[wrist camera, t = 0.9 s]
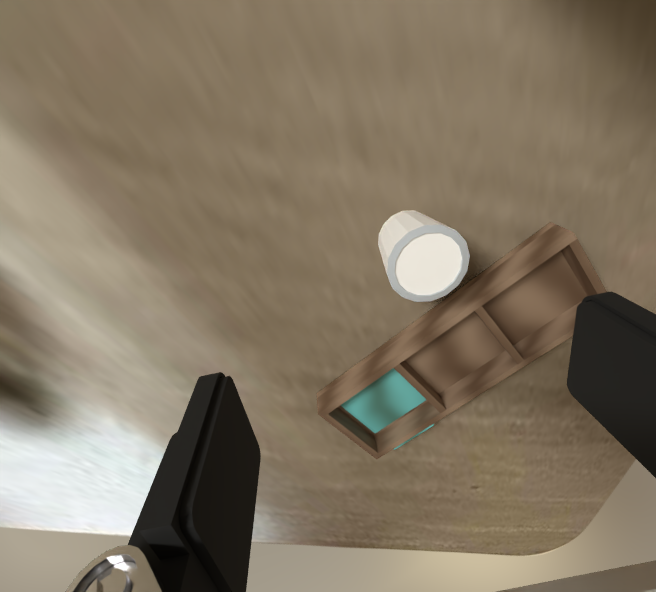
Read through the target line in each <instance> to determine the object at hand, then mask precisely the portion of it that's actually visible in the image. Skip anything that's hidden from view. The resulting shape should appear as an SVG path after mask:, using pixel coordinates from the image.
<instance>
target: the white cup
mask: <svg viewBox="0 0 656 592" xmlns="http://www.w3.org/2000/svg"><path fill="white" fill-rule="evenodd" d="M378 246H379V249H380V252H381V256H382V259H383V263H384V266H385V269H386V273H387V276H388V278H389V281H390V283H391V286H392V288H393V289H394V290H395V291H396V292H397V293H398V294H399V295H401V296H402V297H403V298H406V299H409V300H412V301H415V302H423V301H433V300H436V299H438V298H441V297H443V296H446V295H447V294H448V293H450V292H451V291H452V290H453V289H454V288H456V287H457V286H458V285H459V284H460V282H461V280H462V279H463V277H464V275H465V274H466V272H467V269H468V264H469V258H470V254H469V250H468V247H467V243H466V241H465V240H464V239H463V237H462V236H461V235H460V234H459V233H458V232H457V231H456V230H454V229H452V228H450V227H448V226H446V225H444V224H442V223H440V222H438V221H436V220H434V219H432V218H430V217H428V216H426V215H424V214H422V213H419V212H417V211H415V210H413V211H402V212H399V213H397V214H395V215H392V216H391V217H390V218H389V219H388V220H387V221H386V222H385V223H384V224H383V226H382V228H381V231H380V233H379V241H378Z"/></svg>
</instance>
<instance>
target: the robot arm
mask: <svg viewBox="0 0 656 592" xmlns="http://www.w3.org/2000/svg"><path fill="white" fill-rule="evenodd" d="M567 386H568V389H569V391H570V393H571V394H572V396H573V397H574V398H575V399H576V400H577V401H578V402H579V403H580V404H581V405H582V406H583V407H584V408H585V409H586V410H587V411H588V412H589V413H590V414H591V415H592V416H593V417H595V418H596V419H597V420H598V421H599V422H600V423H601V424H602V425H603V426H604V427H605V428H606V429H607V430H608V431H609V432H610V433H611V434H612V435H613V436H614V437H615V438H616V439H617V440H618V441H619V442H620V443H621V444H622V445H623V446H624V447H625V448H626V449H627V450H628V451H629V452H630V453H631V454H632V455H633V456H634V457H635V458H636V459H637V460H638V461H639V462H640V463H641V464H642V465H643V466H644V467H645V468H646V469H647V470H648V471H649V472H650V473H651V474H652V475H653V476H654V477H655V478H656V314H654V313H652V312H650V311H648V310H646V309H644V308H643V307H641V306H639V305H637V304H635V303H633V302H631V301H629V300H627V299H626V298H624V297H622V296H620V295H618V294H616V293H614V292H605V293H600V294H595V295H590V296H587V297H585V298H584V299H583V300H582V303H580V304H579V305H578V306H577V310H576V318H575V325H574V333H573V340H572V348H571V355H570V363H569V370H568V378H567ZM259 467H260V448H259V445H258V442H257V440H256V437H255V435H254V432H253V430H252V427H251V425H250V422H249V419H248V417H247V414H246V412H245V409H244V407H243V404H242V402H241V399H240V397H239V394H238V392H237V389H236V387H235V384H234V382H233V379H232V378H231V377H230V376H227V377H225V375H224V374H223V373H221V372H219V373H215V374H210V375H205V376H201V377H199V379H198V381H197V383H196V386H195V388H194V391H193V394H192V396H191V399H190V401H189V404H188V406H187V409H186V412H185V414H184V417H183V419H182V422H181V425H180V427H179V430H178V432H177V433H175V434H174V435H173V436H172V438H171V439H170V441H169V444H168V446H167V449H166V451H165V453H164V456H163V458H162V461H161V463H160V466H159V468H158V471H157V473H156V476H155V478H154V481H153V483H152V486H151V488H150V491H149V493H148V496H147V498H146V501H145V503H144V506H143V508H142V511H141V513H140V516H139V518H138V521H137V523H136V526H135V528H134V530H133V533H132V535H131V538H130V540H129V543H128V545H125V546H118V547H115V548H113V549H110V550H108V551H106V552H104V553H103V554H101V555H100V556H98V557H97V558H95V559H94V560H92V561H91V562H90V563H89V564H88V565H87V566H86V567H85V568H84V569H83V570H82V571H80V572H79V574H78V575H77V576H76V578H75V579H74V580H73V581H72V583H71V584H70V585H69V586H68V588H67V590H66V592H246V585H247V577H248V568H249V558H250V549H251V540H252V531H253V522H254V513H255V504H256V495H257V486H258V476H259ZM497 592H656V561H651V562H645V563H641V564H635V565H630V566H625V567H620V568H615V569H609V570H604V571H600V572H594V573H589V574H585V575H579V576H574V577H569V578H564V579H559V580H553V581H548V582H543V583H538V584H533V585H528V586H523V587H518V588H513V589H508V590H503V591H497Z"/></svg>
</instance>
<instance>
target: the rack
mask: <svg viewBox="0 0 656 592" xmlns="http://www.w3.org/2000/svg"><path fill="white" fill-rule="evenodd" d="M605 292H607V291H606V290H605V288H604V286H603V284H602V282H601V281H600V279H599V277H598V275H597V273H596V272H595V270H594V268H593V266H592V264H591V263H590V261H589V259H588V257H587V255H586V254H585V252H584V250H583V248H582V246H581V245H580V243H579V241H578V239H577V237H576V236H575V234H574V232H572V231H569V230H567V229H565V228H563V227H560V226H558V225H556V224H554V223H551V222H550V223H549V224H547V225H546V226H544V227H543V228H542V229H540V230H539V231H538V232H536V233H535V234H534V235H532V236H531V237H529V238H528V239H527V240H525V241H524V242H523V243H521V244H520V245H519V246H517V247H516V248H514V249H513V250H512V251H510V252H509V253H508V254H506V255H505V256H503V257H502V258H501V259H499V260H498V261H497V262H495V263H494V264H493V265H491V266H490V267H488V268H487V269H486V270H484V271H483V272H482V273H480V274H479V275H478V276H476V277H475V278H473V279H472V280H471V281H469V282H468V283H467V284H465V285H464V286H462V287H461V288H460V289H458V290H457V291H456V292H454V293H453V294H452V295H450V296H449V297H447V298H446V299H445V300H443V301H442V302H441V303H439V304H438V305H437V306H435V307H434V308H432V309H431V310H430V311H428V312H427V313H426V314H424V315H423V316H421V317H420V318H419V319H417V320H416V321H415V322H413V323H412V324H411V325H409V326H408V327H406V328H405V329H404V330H402V331H401V332H400V333H398V334H397V335H396V336H394V337H393V338H391V339H390V340H389V341H387V342H386V343H385V344H383V345H382V346H381V347H379V348H378V349H376V350H375V351H374V352H372V353H371V354H370V355H368V356H367V357H365V358H364V359H363V360H361V361H360V362H359V363H357V364H356V365H355V366H353V367H352V368H350V369H349V370H348V371H346V372H345V373H344V374H342V375H341V376H340V377H338V378H337V379H335V380H334V381H333V382H331V383H330V384H329V385H327V386H326V387H324V388H323V389H322V390H320V391H319V392H318V393H317V406H318V415H320V416H321V417H322V418H324V419H325V420H326V421H328V422H329V423H330V424H331V425H333V426H334V427H335V428H337V429H338V430H339V431H341V432H342V433H343V434H345V435H346V436H347V437H348V438H350V439H351V440H352V441H354V442H355V443H356V444H358V445H359V446H360V447H361V448H363V449H364V450H365V451H367V452H368V453H369V454H371V455H372V456H373V457H374V458H376V459H378V458H380V457H381V456H383V455H385V454H386V453H388V452H389V451H391V450H392V449H394V450H395V449H397V448H399V447H400V446H402V445H403V444H405V443H407V442H408V441H410V440H411V439H413V438H414V437H416V436H418V435H419V434H421V433H422V432H424V431H426V430H427V429H429V428H430V427H432V426H434V423H435V422H437V421H439V420H440V419H442V418H443V417H445V416H446V415H448V414H450V413H451V412H453V411H454V410H456V409H458V408H459V407H461V406H462V405H464V404H466V403H467V402H469V401H470V400H472V399H473V398H475V397H477V396H478V395H480V394H481V393H483V392H485V391H486V390H488V389H489V388H491V387H493V386H494V385H496V384H497V383H499V382H500V381H502V380H504V379H505V378H507V377H508V376H510V375H512V374H513V373H515V372H516V371H518V370H520V369H521V368H523V367H524V366H526V365H527V364H529V363H531V362H532V361H534V360H535V359H537V358H539V357H540V356H542V355H543V354H545V353H547V352H548V351H550V350H551V349H553V348H555V347H556V346H558V345H559V344H561V343H562V342H564V341H566V340H567V339H569V338H570V337H572V336H573V333H574V325H575V318H576V310H577V306H578V305H579V304H580V303H582V300H583V299H584V298H585V297H587V296H590V295H595V294H600V293H605Z"/></svg>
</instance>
